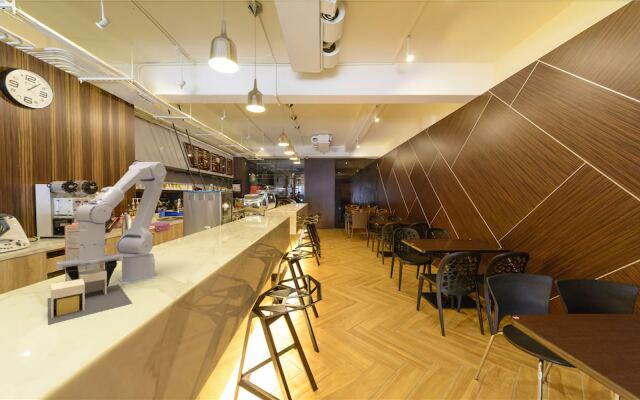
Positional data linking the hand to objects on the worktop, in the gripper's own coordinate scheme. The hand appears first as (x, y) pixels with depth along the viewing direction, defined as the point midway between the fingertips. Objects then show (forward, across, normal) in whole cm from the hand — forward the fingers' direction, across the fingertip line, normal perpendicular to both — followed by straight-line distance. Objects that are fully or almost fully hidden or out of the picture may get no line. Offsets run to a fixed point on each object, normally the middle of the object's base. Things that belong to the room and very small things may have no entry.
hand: (92, 288), depth 74 cm
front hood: (+2, -6, -9) cm, 11 cm away
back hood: (+2, 0, 0) cm, 2 cm away
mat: (+2, -1, -5) cm, 6 cm away
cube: (+2, -6, -9) cm, 11 cm away
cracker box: (+3, 0, +17) cm, 17 cm away
